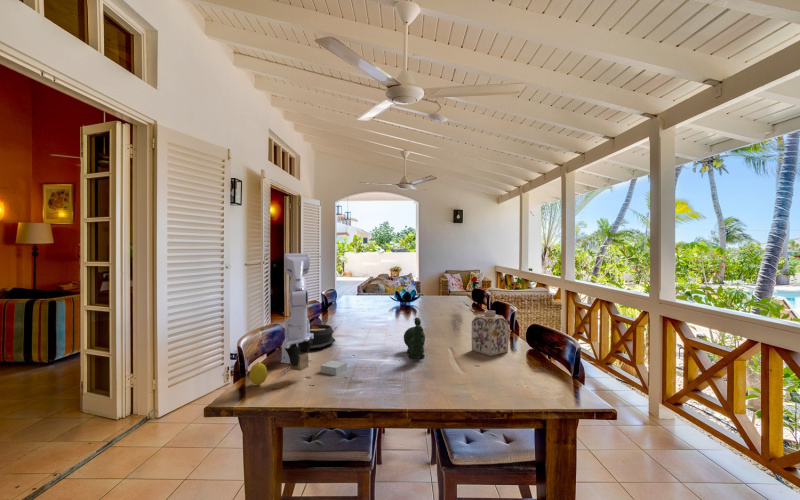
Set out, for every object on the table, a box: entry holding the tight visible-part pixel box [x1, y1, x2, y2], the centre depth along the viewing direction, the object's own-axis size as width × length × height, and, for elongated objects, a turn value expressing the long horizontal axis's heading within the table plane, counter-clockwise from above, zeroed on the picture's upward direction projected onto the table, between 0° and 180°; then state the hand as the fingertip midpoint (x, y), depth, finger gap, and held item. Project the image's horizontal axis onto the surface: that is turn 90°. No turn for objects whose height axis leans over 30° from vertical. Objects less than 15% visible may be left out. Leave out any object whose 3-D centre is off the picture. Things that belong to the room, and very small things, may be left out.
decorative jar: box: [471, 309, 509, 357], centre depth 173 cm, size 12×12×18 cm
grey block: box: [320, 359, 348, 376], centre depth 146 cm, size 7×7×3 cm
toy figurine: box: [403, 317, 426, 360], centre depth 167 cm, size 9×19×25 cm
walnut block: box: [289, 352, 309, 372], centre depth 137 cm, size 4×4×5 cm
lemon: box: [249, 361, 268, 387], centre depth 131 cm, size 6×6×8 cm
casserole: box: [310, 323, 336, 349], centre depth 184 cm, size 25×19×8 cm
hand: (299, 363), depth 137 cm, fingers closed on walnut block, 4 cm apart
